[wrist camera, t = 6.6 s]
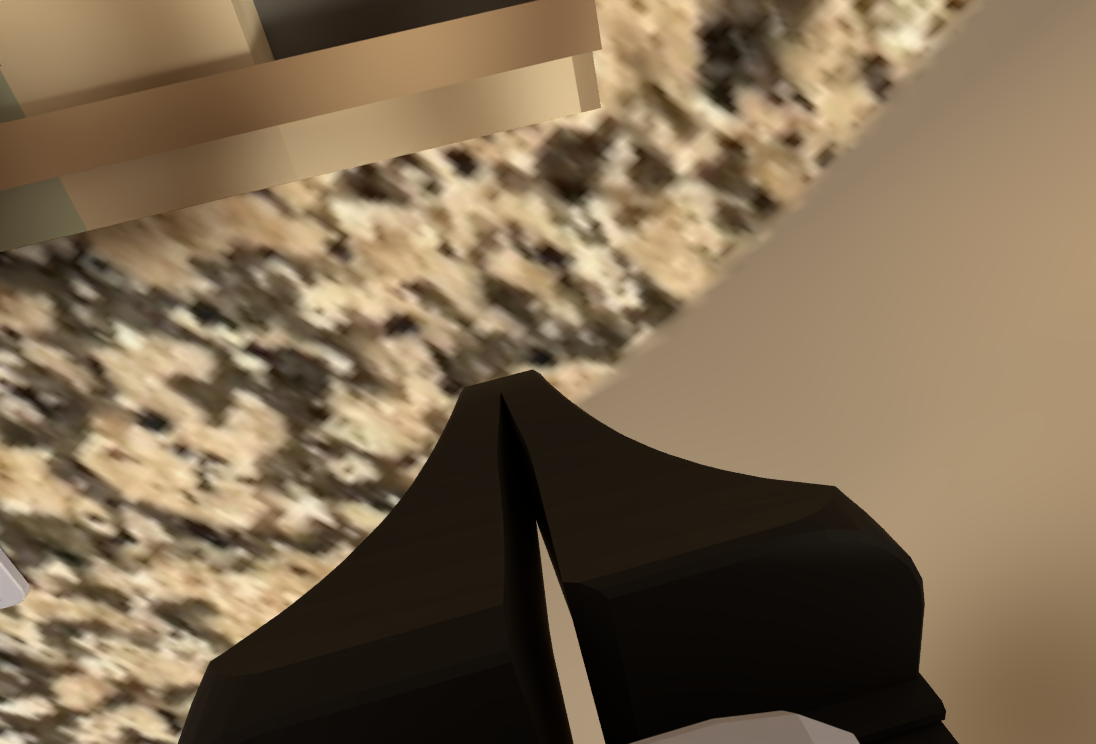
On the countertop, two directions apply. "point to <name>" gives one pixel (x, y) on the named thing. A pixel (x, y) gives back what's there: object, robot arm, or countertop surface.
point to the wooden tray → (259, 94)
